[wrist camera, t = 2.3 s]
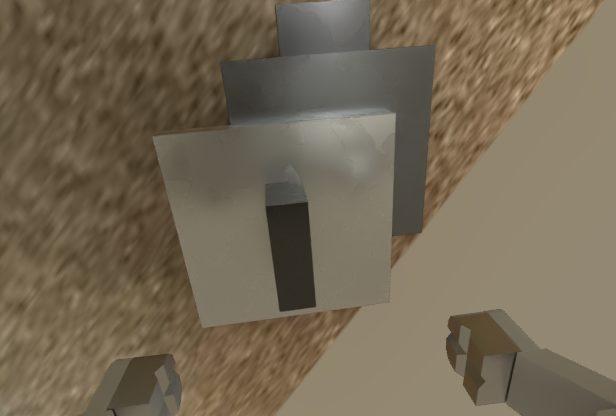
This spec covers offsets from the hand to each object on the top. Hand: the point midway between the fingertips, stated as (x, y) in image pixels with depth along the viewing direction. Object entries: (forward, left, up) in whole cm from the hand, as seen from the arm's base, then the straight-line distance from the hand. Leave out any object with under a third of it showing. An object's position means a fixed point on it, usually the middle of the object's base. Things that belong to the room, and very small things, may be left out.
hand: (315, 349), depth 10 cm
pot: (-3, +2, -16) cm, 16 cm away
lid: (0, 0, -8) cm, 8 cm away
